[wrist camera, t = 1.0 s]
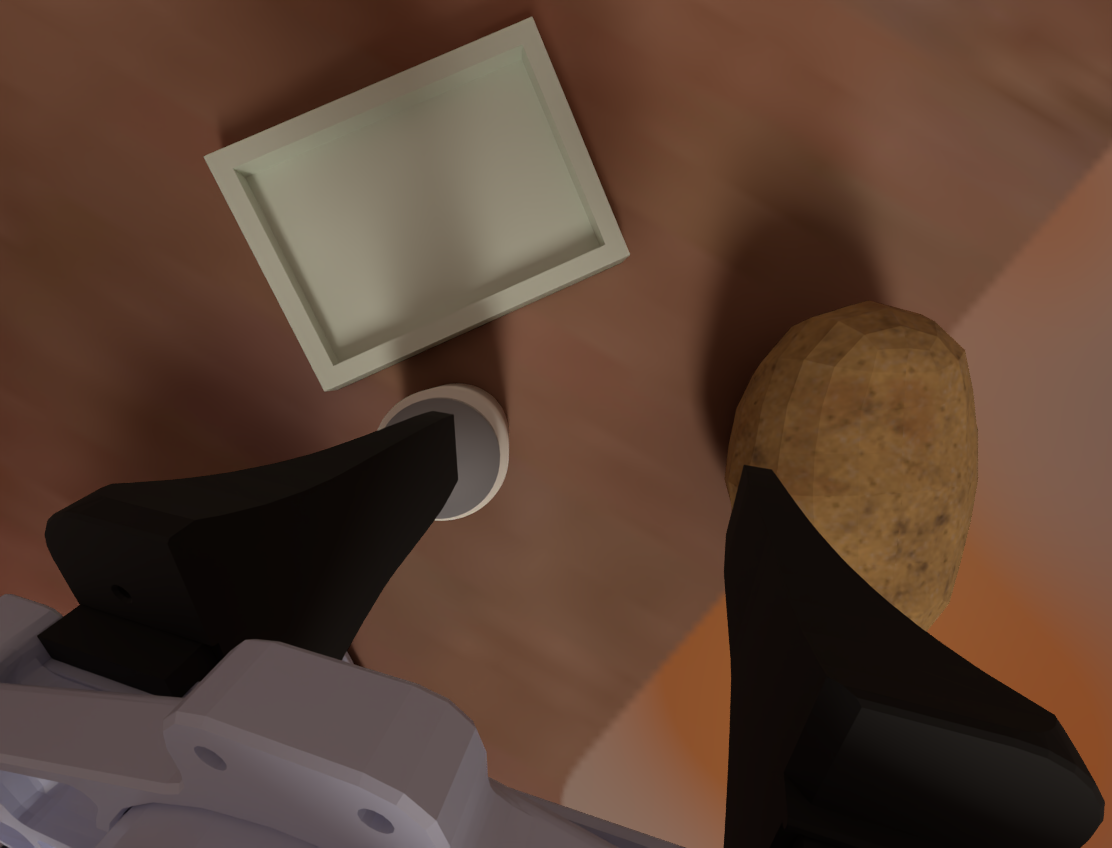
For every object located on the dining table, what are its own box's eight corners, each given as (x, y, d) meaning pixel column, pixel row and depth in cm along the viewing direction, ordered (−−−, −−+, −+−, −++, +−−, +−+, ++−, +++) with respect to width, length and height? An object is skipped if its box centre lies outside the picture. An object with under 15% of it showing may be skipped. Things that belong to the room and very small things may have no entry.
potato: (698, 607, 26) (783, 714, 18) (690, 321, 24) (778, 298, 16) (883, 588, 26) (1043, 682, 19) (886, 310, 25) (1063, 283, 17)
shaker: (434, 498, 24) (405, 550, 17) (390, 408, 23) (341, 425, 17) (525, 457, 24) (531, 492, 17) (483, 366, 23) (472, 366, 17)
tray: (337, 390, 23) (324, 391, 21) (226, 171, 22) (203, 156, 20) (622, 262, 23) (630, 254, 22) (530, 41, 22) (532, 16, 20)
